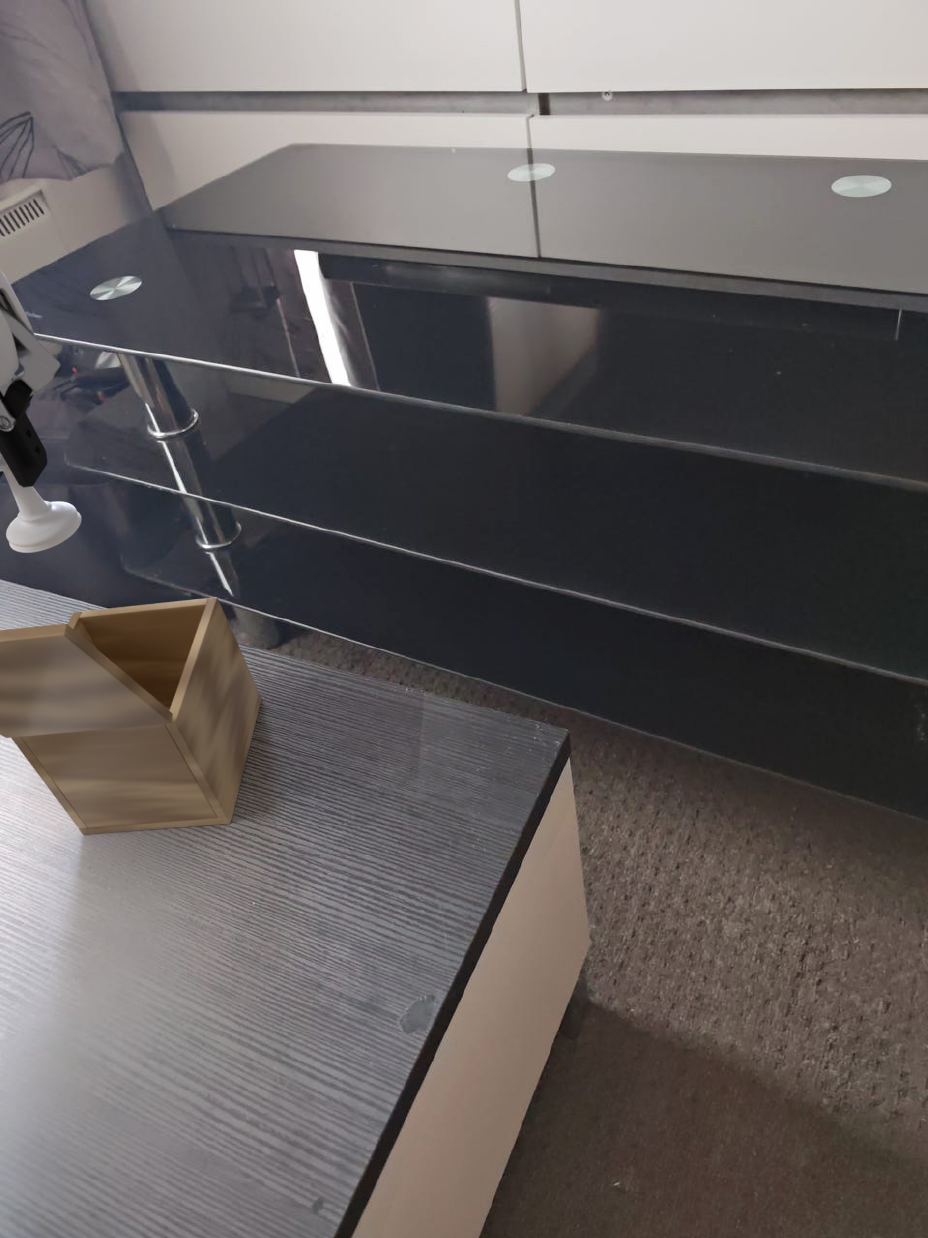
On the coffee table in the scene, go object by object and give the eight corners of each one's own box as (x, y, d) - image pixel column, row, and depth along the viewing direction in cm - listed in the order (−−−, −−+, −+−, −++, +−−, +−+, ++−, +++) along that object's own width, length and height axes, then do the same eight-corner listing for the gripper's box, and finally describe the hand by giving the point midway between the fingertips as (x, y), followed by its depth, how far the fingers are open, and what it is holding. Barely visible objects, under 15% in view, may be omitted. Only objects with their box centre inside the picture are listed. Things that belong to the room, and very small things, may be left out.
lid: (-134, 643, 54) (-138, 655, 54) (66, 622, 52) (64, 635, 52) (8, 728, 66) (5, 738, 66) (173, 713, 65) (172, 723, 64)
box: (131, 710, 85) (73, 612, 77) (262, 698, 83) (217, 596, 75) (82, 834, 75) (10, 737, 66) (230, 824, 73) (175, 722, 65)
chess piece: (12, 522, 64) (-65, 393, 57) (82, 501, 65) (14, 372, 58) (6, 561, 60) (-76, 429, 54) (81, 539, 61) (9, 406, 54)
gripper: (-340, 229, 46) (-126, 526, 58) (-44, 179, 44) (113, 497, 56) (-250, 181, 51) (-72, 461, 63) (17, 135, 49) (147, 432, 61)
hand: (14, 475), depth 59 cm, fingers closed on chess piece
